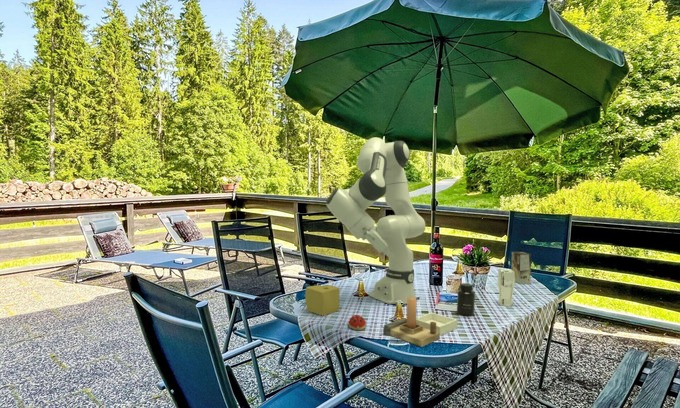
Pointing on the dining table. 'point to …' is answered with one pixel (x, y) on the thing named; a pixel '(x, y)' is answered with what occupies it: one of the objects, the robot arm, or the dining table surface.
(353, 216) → the robot arm
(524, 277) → the coffee box
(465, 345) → the dining table surface
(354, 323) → the red domed piece
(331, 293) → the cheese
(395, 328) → the bench plate
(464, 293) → the supplement bottle
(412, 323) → the dowel
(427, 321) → the tray
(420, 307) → the dining table surface
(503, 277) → the beige tall block
